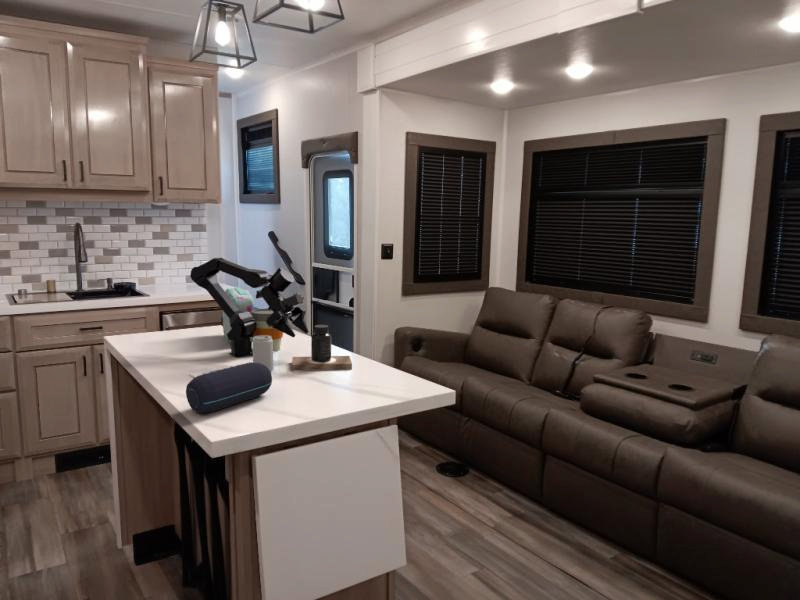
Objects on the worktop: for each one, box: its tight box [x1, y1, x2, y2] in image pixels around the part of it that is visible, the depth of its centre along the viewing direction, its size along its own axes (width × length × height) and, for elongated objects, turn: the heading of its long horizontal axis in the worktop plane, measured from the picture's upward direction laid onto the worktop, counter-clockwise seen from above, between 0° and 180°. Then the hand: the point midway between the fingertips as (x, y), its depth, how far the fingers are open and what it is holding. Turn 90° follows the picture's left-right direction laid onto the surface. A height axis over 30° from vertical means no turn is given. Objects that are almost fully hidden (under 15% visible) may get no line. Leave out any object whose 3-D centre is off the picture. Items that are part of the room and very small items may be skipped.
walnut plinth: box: [291, 355, 353, 371], centre depth 201 cm, size 20×11×2 cm, turn 99°
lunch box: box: [220, 286, 255, 344], centre depth 238 cm, size 27×10×21 cm, turn 25°
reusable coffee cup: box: [251, 308, 284, 352], centre depth 222 cm, size 13×13×15 cm
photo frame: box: [188, 365, 232, 378], centre depth 185 cm, size 15×1×18 cm
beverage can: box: [252, 335, 274, 373], centre depth 191 cm, size 6×6×12 cm
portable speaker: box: [185, 361, 273, 414], centre depth 159 cm, size 25×10×10 cm, turn 147°
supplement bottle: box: [310, 324, 332, 362], centre depth 200 cm, size 7×7×12 cm
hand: (301, 334), depth 203 cm, fingers open, 9 cm apart
